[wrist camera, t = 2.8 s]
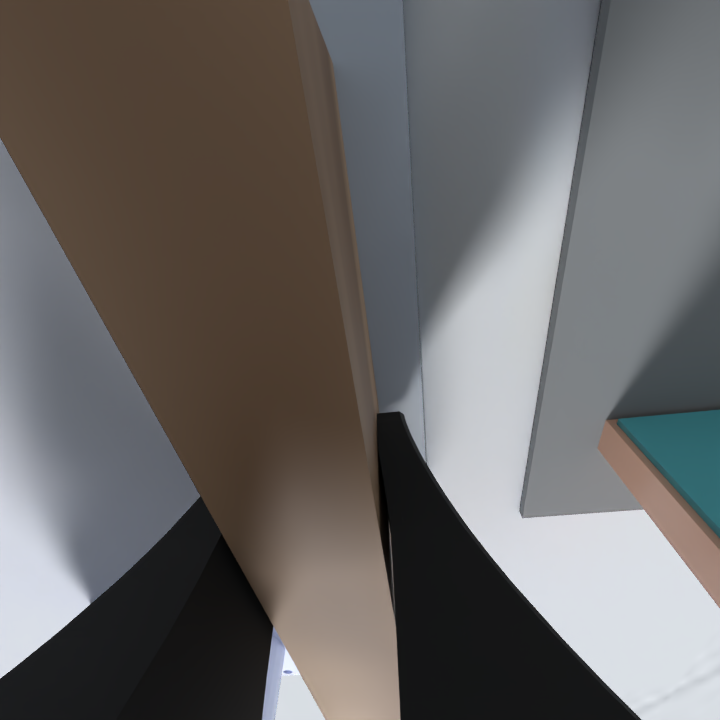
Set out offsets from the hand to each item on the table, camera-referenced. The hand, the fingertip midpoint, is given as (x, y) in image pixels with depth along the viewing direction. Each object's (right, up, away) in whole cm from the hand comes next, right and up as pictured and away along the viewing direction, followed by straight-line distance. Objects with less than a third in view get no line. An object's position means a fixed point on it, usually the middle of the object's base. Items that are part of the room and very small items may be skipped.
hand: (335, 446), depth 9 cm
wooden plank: (0, +1, +1) cm, 1 cm away
